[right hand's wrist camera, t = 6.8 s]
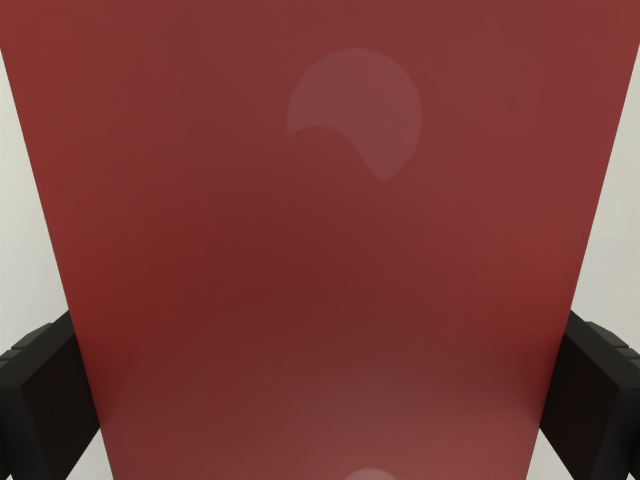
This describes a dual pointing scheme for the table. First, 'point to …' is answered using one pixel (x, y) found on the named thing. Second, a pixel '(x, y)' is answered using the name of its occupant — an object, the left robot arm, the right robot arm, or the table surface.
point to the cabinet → (319, 221)
